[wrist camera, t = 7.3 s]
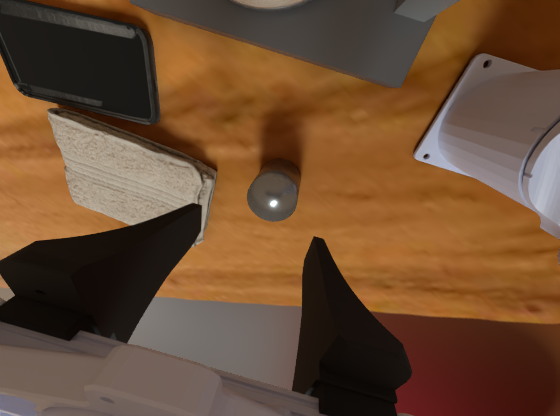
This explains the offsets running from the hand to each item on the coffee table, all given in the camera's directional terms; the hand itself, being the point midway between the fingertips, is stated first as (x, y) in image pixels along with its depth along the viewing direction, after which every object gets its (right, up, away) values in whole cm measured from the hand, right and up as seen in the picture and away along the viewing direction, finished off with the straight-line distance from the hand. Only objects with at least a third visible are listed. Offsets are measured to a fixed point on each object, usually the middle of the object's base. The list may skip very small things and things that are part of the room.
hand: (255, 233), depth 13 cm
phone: (-17, +15, +7) cm, 24 cm away
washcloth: (-15, +5, +13) cm, 20 cm away
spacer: (+2, +5, +9) cm, 11 cm away
